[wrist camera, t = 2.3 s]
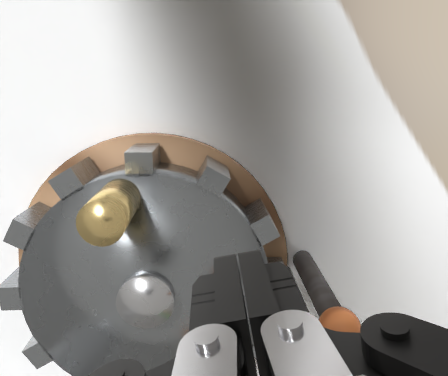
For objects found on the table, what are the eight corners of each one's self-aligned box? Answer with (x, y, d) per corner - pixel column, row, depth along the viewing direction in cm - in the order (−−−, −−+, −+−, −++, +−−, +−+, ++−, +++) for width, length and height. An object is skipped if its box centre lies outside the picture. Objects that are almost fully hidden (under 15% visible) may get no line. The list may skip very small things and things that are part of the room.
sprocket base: (29, 110, 28) (-75, 125, 18) (342, 162, 30) (412, 204, 20) (20, 355, 34) (-65, 475, 24) (284, 385, 36) (315, 509, 26)
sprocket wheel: (29, 121, 27) (-54, 138, 19) (306, 167, 29) (347, 202, 20) (20, 360, 33) (-48, 460, 24) (254, 387, 34) (270, 489, 26)
